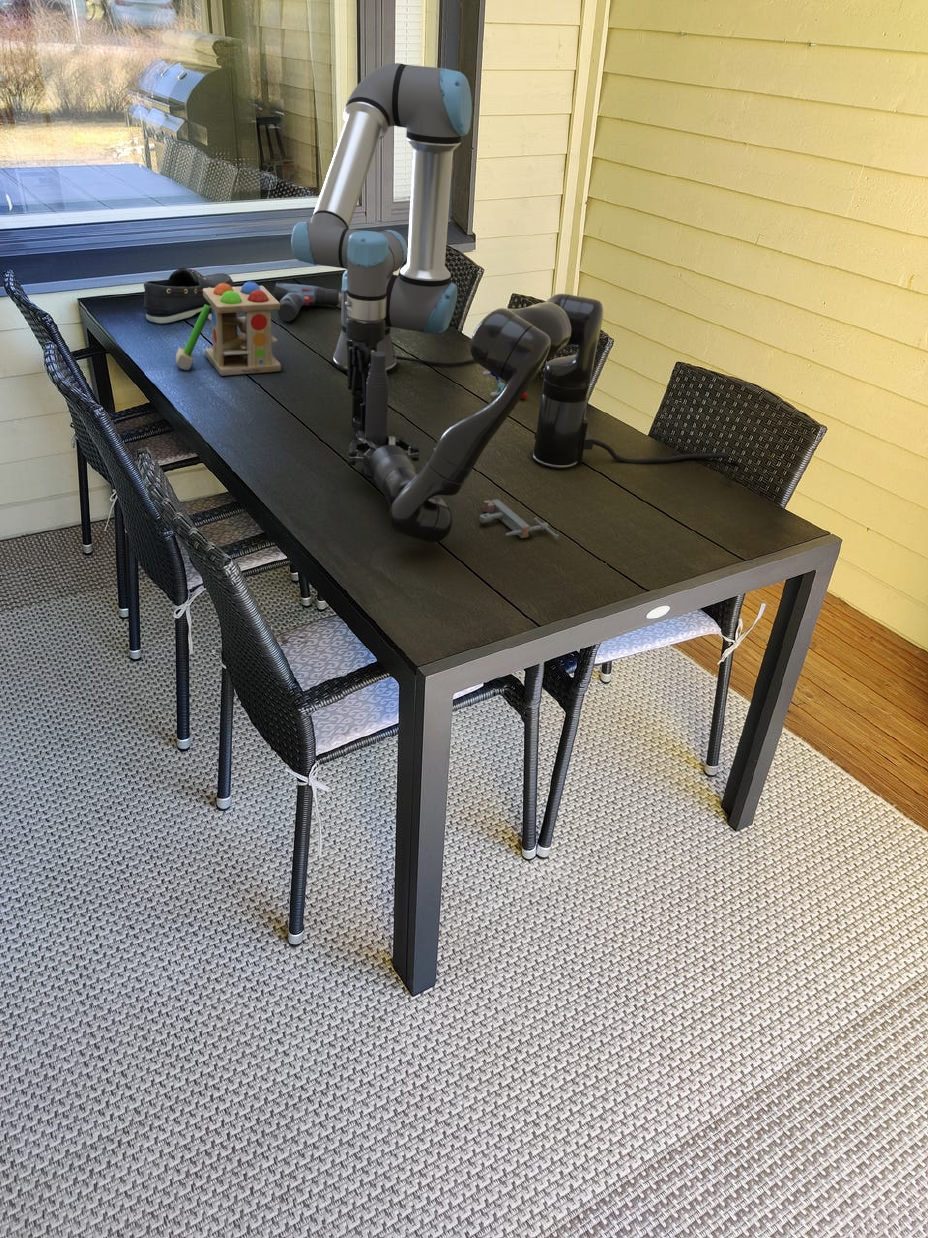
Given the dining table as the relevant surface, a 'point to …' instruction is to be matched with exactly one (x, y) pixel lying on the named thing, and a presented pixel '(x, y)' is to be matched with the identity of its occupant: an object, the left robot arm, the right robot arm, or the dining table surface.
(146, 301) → the boat shoe
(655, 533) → the dining table surface
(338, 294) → the power drill
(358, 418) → the cap
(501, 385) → the molecular model
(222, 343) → the pounding bench toy
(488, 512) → the clamp
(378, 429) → the dark grey cylinder
